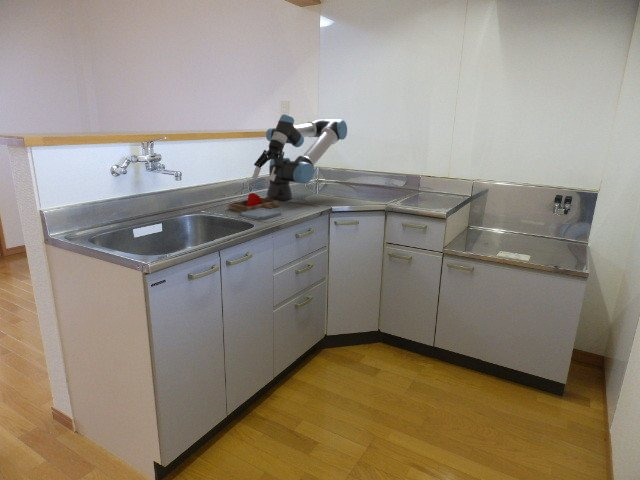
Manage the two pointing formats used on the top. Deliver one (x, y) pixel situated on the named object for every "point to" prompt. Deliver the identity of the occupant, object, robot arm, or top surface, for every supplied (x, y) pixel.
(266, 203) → the frame
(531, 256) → the top surface
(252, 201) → the gemstone
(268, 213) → the tray
